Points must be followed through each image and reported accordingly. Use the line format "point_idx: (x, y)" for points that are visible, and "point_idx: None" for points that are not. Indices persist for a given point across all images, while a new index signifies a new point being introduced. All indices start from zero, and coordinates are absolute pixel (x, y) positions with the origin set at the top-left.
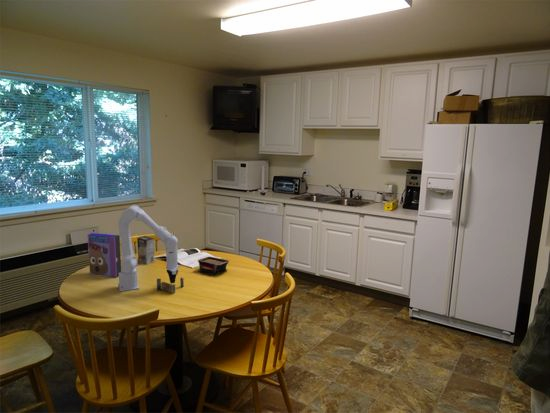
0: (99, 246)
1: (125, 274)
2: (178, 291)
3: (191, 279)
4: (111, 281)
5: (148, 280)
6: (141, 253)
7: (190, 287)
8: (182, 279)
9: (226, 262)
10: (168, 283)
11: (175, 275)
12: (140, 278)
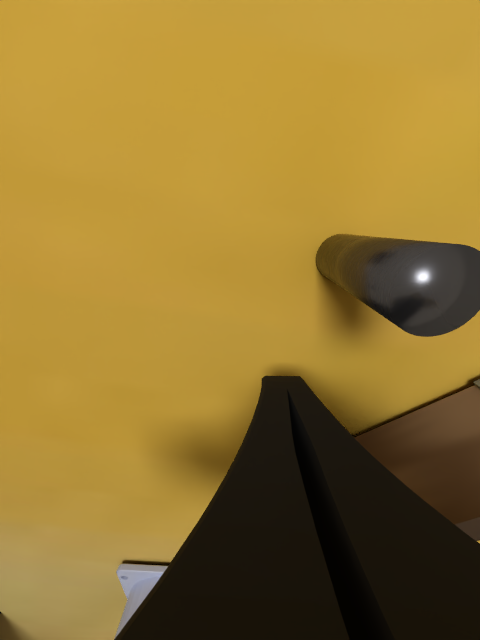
0: None
1: None
2: (466, 328)
3: (34, 3)
4: (61, 627)
5: (54, 506)
6: None
7: (435, 116)
8: (462, 277)
9: None
10: (468, 524)
11: (437, 535)
12: (8, 537)
